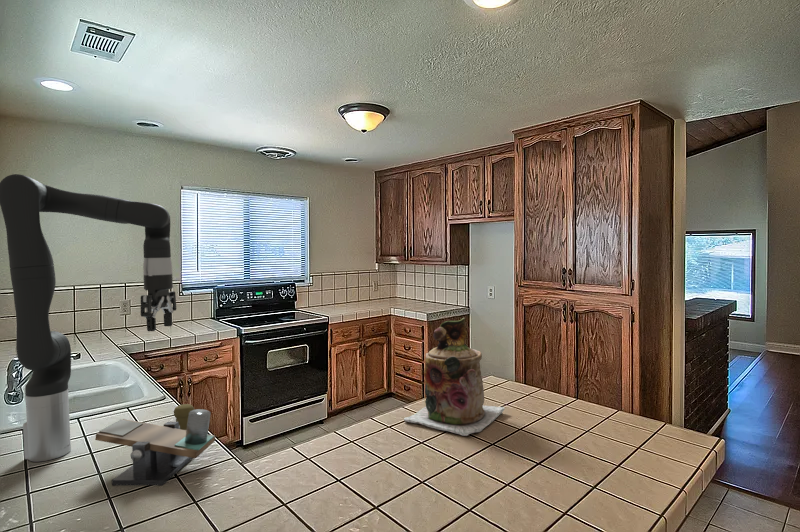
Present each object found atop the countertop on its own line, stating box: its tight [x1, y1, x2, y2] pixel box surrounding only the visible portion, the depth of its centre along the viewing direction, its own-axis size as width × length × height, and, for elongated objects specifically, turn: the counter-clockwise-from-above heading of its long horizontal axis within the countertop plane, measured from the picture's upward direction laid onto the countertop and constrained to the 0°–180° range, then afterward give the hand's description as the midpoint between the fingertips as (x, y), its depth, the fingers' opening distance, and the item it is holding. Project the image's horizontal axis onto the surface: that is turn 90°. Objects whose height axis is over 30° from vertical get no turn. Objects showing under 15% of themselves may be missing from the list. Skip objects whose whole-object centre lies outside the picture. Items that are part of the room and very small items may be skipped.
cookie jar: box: [403, 317, 505, 437], centre depth 145 cm, size 25×25×32 cm
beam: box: [94, 418, 216, 459], centre depth 115 cm, size 25×10×2 cm, turn 87°
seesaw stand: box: [111, 421, 193, 486], centre depth 115 cm, size 12×17×9 cm
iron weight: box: [185, 408, 212, 445], centre depth 114 cm, size 5×5×7 cm
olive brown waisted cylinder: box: [173, 403, 195, 430], centre depth 130 cm, size 6×6×11 cm
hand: (160, 328), depth 135 cm, fingers open, 8 cm apart
